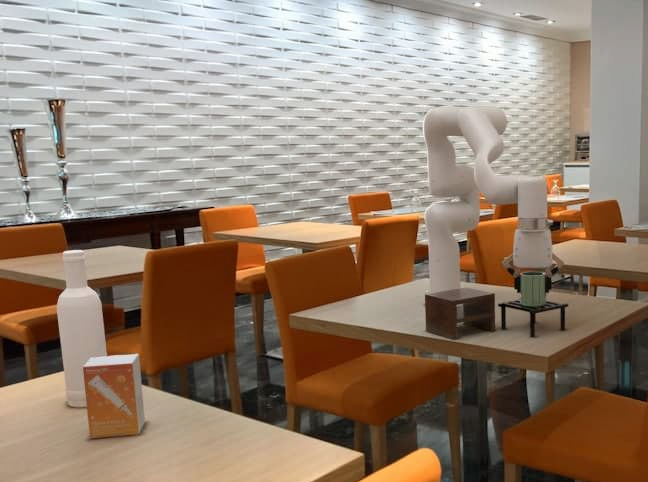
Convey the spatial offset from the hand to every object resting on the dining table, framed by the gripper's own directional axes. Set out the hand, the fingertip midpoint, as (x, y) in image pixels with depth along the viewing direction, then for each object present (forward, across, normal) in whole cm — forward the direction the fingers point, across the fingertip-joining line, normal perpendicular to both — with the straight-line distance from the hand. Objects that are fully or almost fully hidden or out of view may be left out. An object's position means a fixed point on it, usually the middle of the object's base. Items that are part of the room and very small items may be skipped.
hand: (532, 291), depth 197 cm
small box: (+10, +71, +77) cm, 106 cm away
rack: (+10, 0, 0) cm, 10 cm away
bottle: (+10, +86, +62) cm, 107 cm away
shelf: (+10, +19, +2) cm, 22 cm away
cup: (+3, 0, 0) cm, 3 cm away
